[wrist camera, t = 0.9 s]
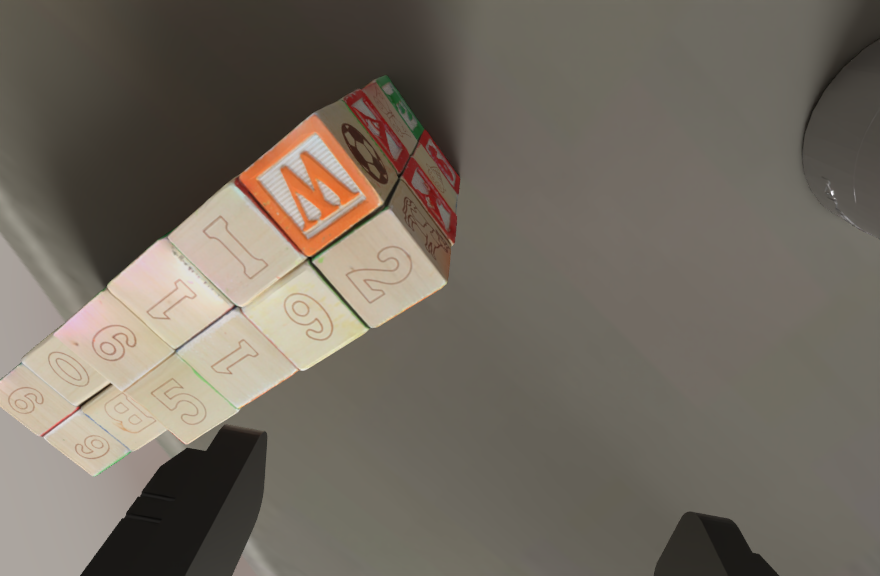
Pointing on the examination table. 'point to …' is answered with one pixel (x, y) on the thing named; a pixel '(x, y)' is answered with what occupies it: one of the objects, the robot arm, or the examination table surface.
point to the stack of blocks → (250, 285)
